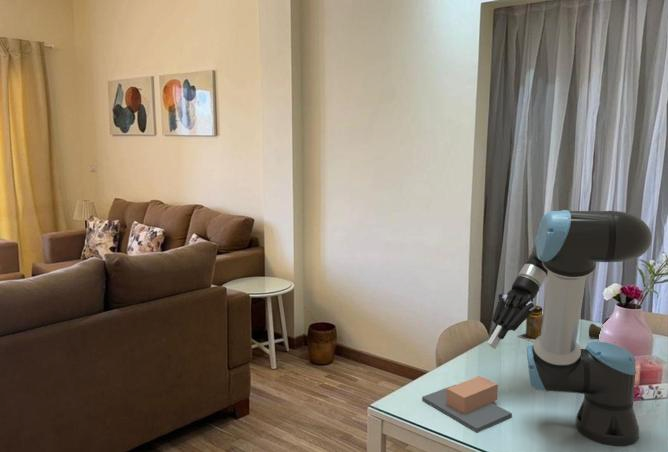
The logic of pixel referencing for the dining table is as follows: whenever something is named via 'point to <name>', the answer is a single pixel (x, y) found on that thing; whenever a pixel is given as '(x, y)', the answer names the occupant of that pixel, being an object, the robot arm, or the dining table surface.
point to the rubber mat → (473, 419)
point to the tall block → (471, 394)
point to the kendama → (595, 330)
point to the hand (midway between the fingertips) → (491, 345)
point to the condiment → (530, 329)
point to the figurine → (538, 323)
